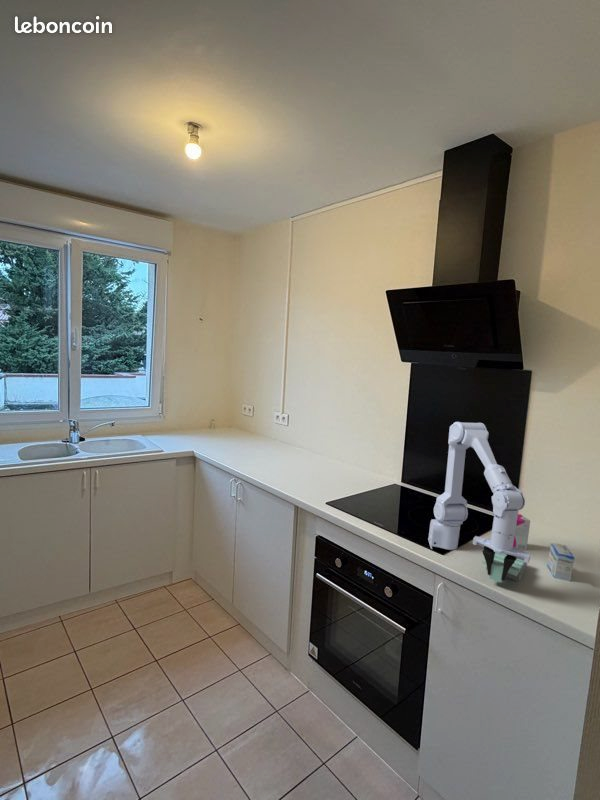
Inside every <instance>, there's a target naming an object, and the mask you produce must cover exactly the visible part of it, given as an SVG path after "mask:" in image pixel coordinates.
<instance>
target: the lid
mask: <svg viewBox="0 0 600 800" xmlns="http://www.w3.org/2000/svg"><path fill="white" fill-rule="evenodd" d="M506 556H507V555H506V554H503V553H502V554H499V553H497V552H495V556H494V561H493V563H492V566H491V573H490V575H489V579H490V580H493V581H495V582H499V583H502V582H503V580H501V578H502V573H503V567H504V558H505V557H506ZM524 563H525V562H524V561H523V560H520V559H516V561H515V562H514V563H513V565H512V566H511V567H510V569H509V571H508V573H510V574H512V575H515V576H517V575H518V573H519V571H520V570H521V568H522V566H523V565H524ZM481 564H482V565H485V566H487V564H486V560H485V558H483V560H482V563H481Z"/></svg>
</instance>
